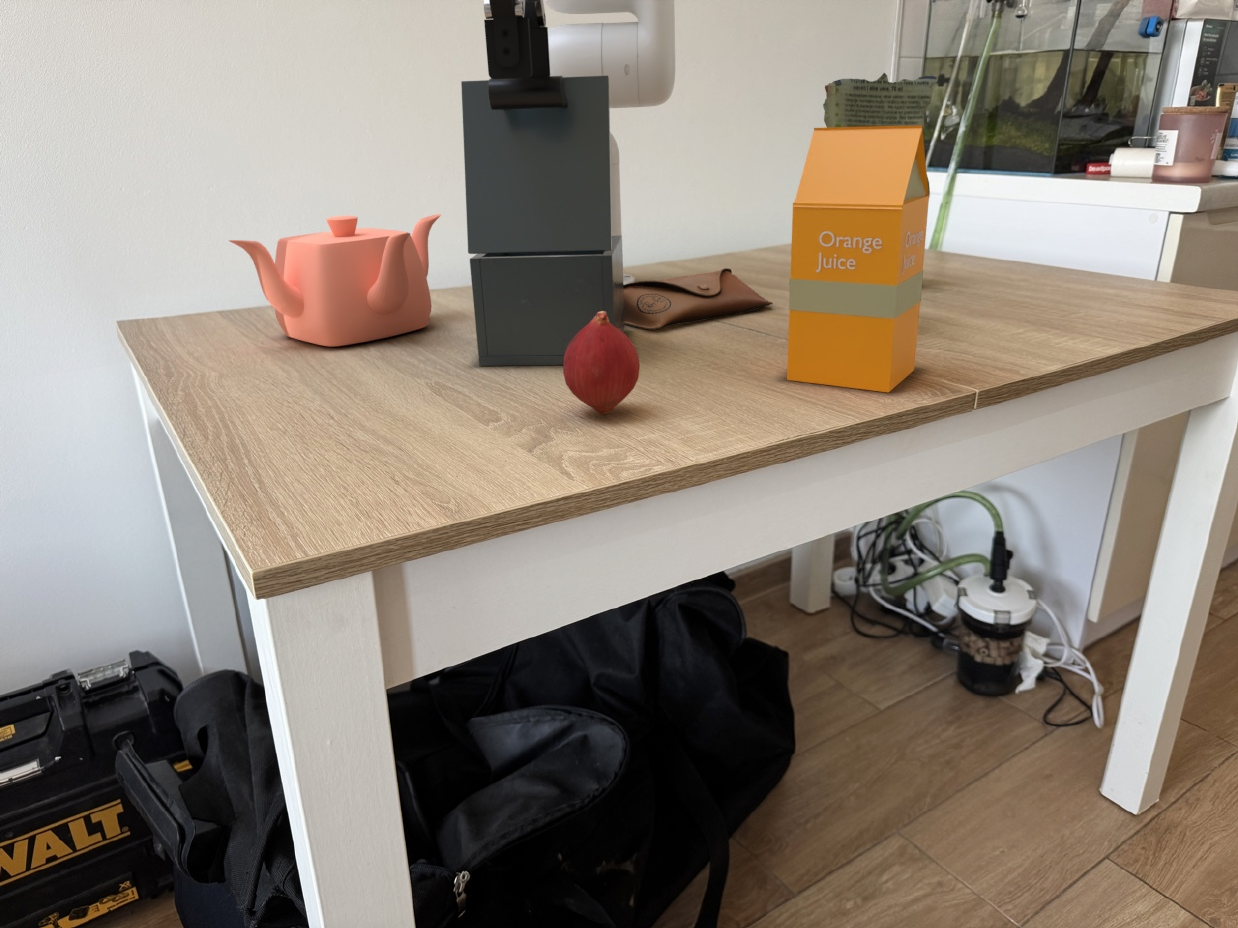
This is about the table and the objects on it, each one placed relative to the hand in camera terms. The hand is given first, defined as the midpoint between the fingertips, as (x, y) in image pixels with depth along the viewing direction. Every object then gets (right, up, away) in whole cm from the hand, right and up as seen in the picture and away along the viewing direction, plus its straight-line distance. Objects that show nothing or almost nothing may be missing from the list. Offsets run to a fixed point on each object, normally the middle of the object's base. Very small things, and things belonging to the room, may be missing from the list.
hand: (521, 79), depth 72 cm
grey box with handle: (+1, -4, +8) cm, 9 cm away
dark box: (+2, -19, +19) cm, 27 cm away
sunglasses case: (+16, -14, +31) cm, 38 cm away
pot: (-20, -16, +28) cm, 38 cm away
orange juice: (+28, -23, +6) cm, 37 cm away
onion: (+7, -27, -2) cm, 28 cm away
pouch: (+40, -8, +44) cm, 59 cm away
